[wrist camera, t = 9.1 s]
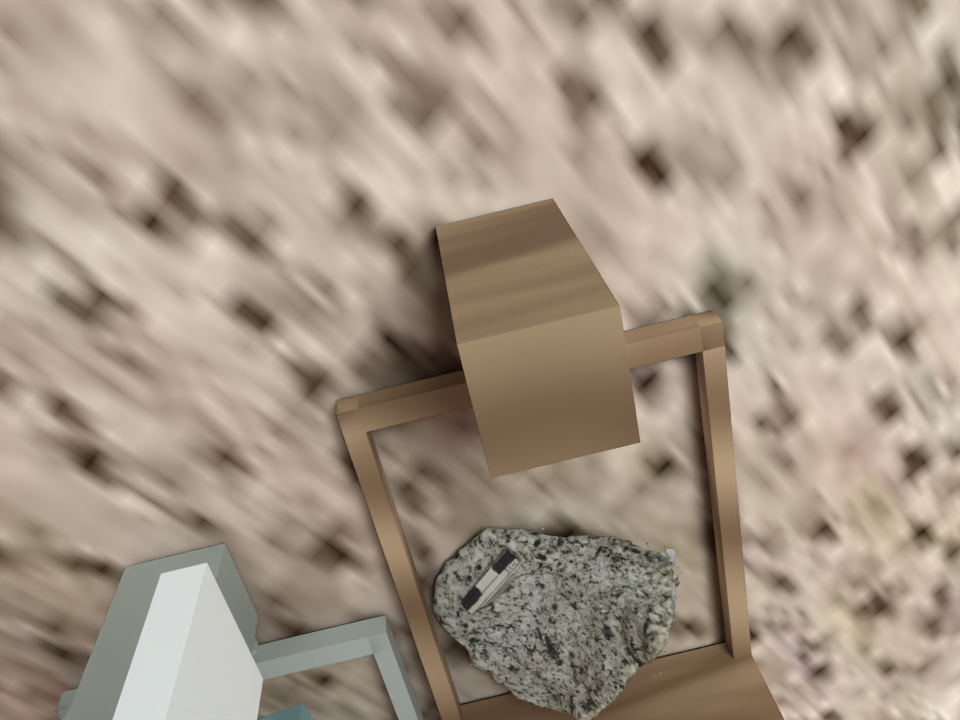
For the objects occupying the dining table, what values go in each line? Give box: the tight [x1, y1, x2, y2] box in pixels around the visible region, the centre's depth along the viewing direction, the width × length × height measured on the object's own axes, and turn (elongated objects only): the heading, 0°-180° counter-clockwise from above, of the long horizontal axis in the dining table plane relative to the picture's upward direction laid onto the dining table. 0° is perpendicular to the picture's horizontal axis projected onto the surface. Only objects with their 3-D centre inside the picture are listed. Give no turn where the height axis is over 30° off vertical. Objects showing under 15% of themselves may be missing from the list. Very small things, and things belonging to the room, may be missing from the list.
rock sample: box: [433, 524, 683, 720], centre depth 34 cm, size 10×8×9 cm
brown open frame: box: [336, 198, 784, 720], centre depth 30 cm, size 24×14×9 cm, turn 12°
